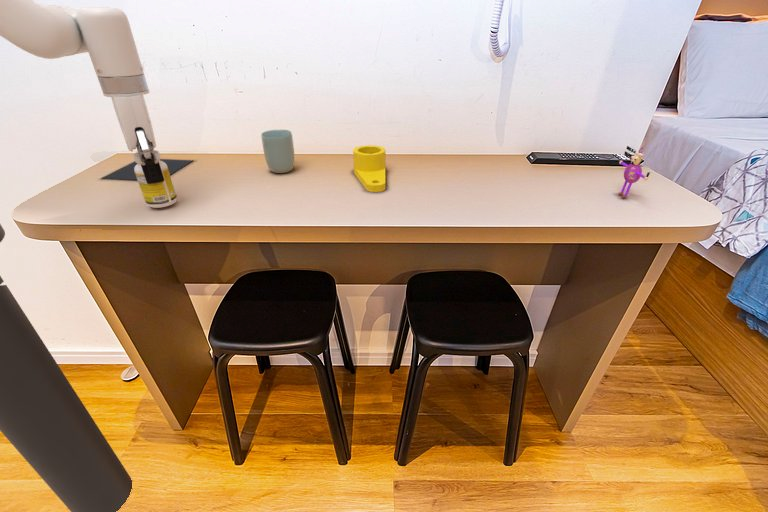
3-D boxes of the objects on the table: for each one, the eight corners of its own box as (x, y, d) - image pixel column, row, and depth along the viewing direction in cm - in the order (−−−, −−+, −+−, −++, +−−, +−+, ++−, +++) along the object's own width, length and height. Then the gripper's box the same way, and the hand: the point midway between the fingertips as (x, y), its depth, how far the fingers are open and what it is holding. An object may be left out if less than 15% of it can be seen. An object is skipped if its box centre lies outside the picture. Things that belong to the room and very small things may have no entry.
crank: (352, 167, 106) (351, 146, 103) (382, 166, 107) (382, 144, 104) (359, 193, 91) (358, 168, 88) (394, 191, 92) (394, 166, 89)
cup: (294, 164, 108) (290, 128, 103) (298, 174, 102) (293, 136, 97) (266, 167, 106) (260, 130, 101) (268, 177, 100) (261, 138, 95)
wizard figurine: (605, 187, 95) (622, 138, 88) (618, 187, 95) (636, 138, 88) (630, 207, 85) (650, 153, 79) (644, 207, 85) (666, 153, 79)
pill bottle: (165, 195, 88) (150, 147, 82) (183, 200, 86) (169, 151, 80) (140, 205, 84) (122, 154, 78) (158, 210, 81) (141, 159, 75)
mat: (101, 178, 99) (101, 178, 99) (141, 159, 112) (141, 158, 112) (160, 181, 97) (159, 180, 97) (193, 161, 111) (193, 160, 111)
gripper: (100, 81, 77) (131, 168, 86) (101, 94, 64) (137, 194, 74) (142, 78, 80) (167, 162, 90) (152, 90, 68) (179, 186, 77)
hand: (153, 176), depth 82 cm, fingers closed on pill bottle, 6 cm apart
